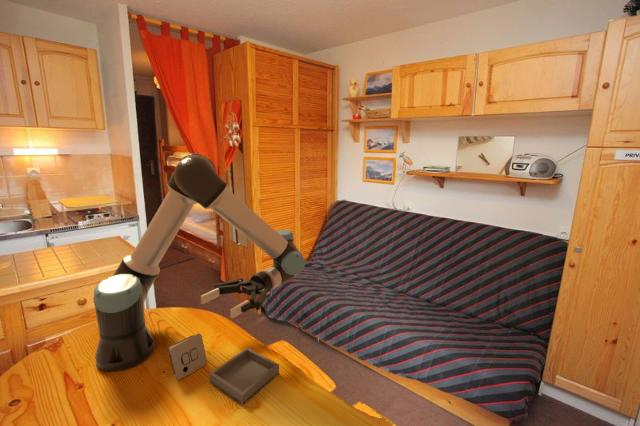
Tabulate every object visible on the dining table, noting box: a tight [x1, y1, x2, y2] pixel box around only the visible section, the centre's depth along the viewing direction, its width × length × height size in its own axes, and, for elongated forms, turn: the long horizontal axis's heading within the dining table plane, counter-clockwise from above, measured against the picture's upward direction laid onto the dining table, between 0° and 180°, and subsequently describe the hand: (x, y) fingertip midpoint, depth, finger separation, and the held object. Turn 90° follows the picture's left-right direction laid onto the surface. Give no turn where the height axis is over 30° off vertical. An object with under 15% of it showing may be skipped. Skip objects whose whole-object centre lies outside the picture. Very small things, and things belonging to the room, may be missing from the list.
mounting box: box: [209, 347, 280, 406], centre depth 90 cm, size 13×14×3 cm
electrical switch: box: [167, 332, 208, 381], centre depth 92 cm, size 9×5×9 cm, turn 141°
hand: (215, 306), depth 98 cm, fingers open, 13 cm apart
